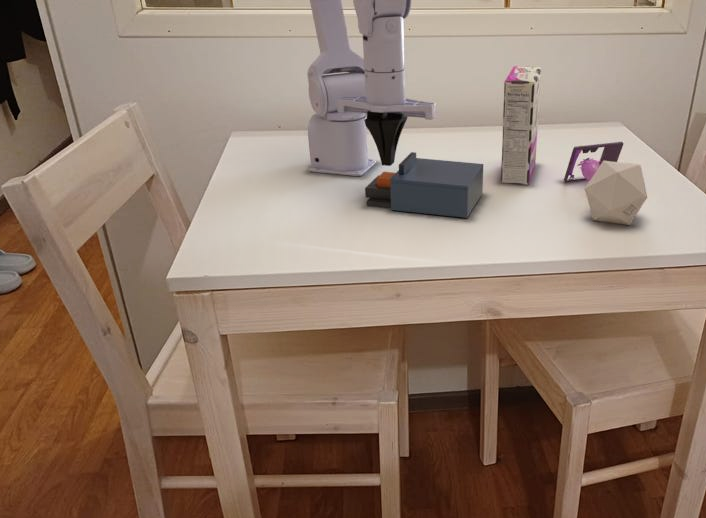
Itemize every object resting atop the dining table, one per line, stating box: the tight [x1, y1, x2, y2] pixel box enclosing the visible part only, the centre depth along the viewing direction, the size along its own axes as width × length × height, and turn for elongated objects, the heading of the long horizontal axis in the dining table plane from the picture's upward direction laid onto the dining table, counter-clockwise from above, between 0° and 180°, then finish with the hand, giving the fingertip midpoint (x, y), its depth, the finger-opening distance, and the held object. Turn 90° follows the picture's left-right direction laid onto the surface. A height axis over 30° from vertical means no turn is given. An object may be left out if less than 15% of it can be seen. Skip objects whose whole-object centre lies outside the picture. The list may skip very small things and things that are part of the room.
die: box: [584, 161, 648, 226], centre depth 104 cm, size 8×9×10 cm
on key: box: [377, 171, 396, 188], centre depth 111 cm, size 3×3×2 cm
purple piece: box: [563, 141, 624, 183], centre depth 117 cm, size 7×5×9 cm
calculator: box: [364, 174, 391, 210], centre depth 110 cm, size 16×9×2 cm, turn 75°
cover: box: [390, 151, 484, 219], centre depth 109 cm, size 12×10×6 cm
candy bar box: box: [500, 65, 542, 186], centre depth 118 cm, size 11×5×16 cm, turn 168°
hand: (388, 163), depth 109 cm, fingers closed
